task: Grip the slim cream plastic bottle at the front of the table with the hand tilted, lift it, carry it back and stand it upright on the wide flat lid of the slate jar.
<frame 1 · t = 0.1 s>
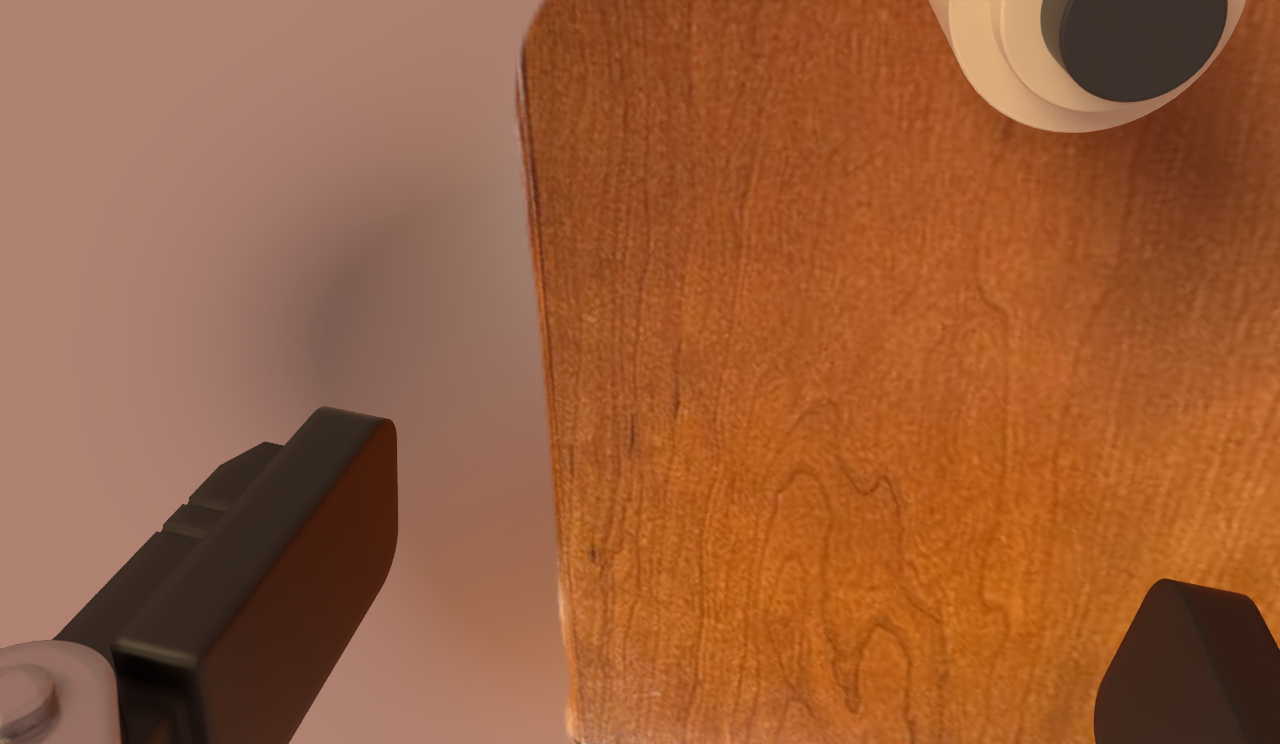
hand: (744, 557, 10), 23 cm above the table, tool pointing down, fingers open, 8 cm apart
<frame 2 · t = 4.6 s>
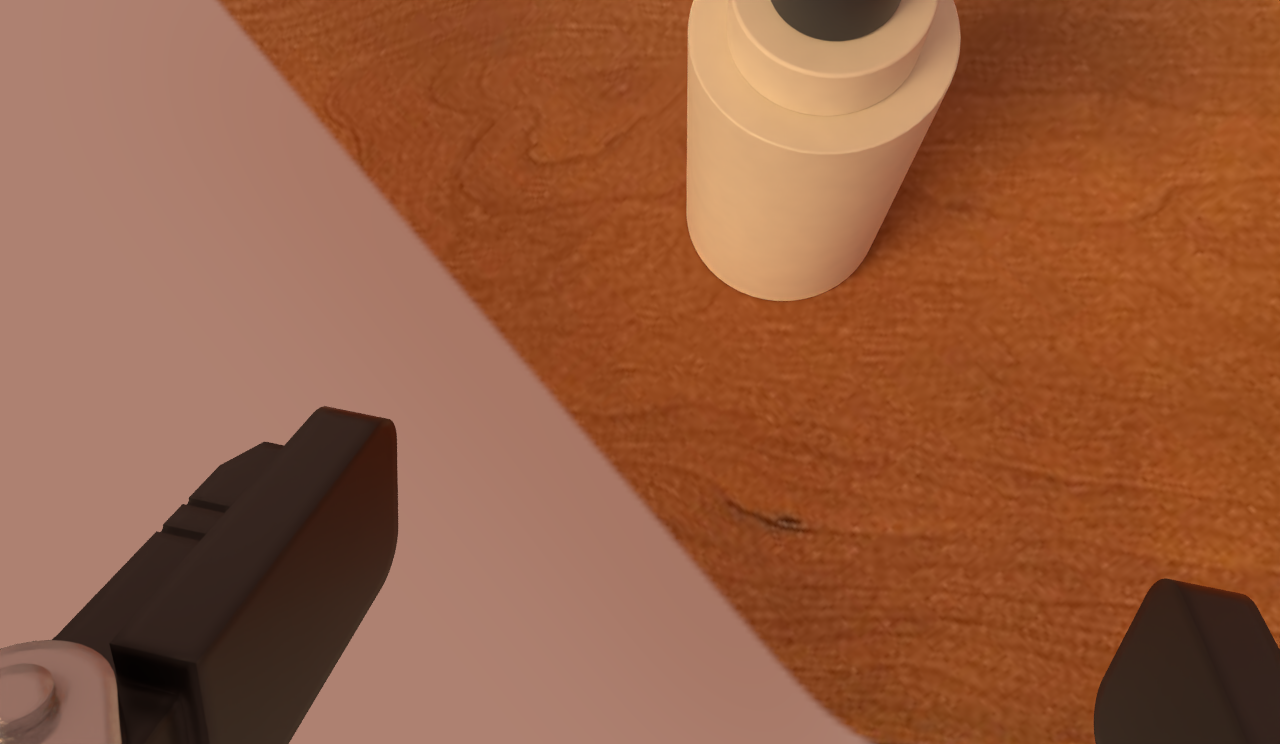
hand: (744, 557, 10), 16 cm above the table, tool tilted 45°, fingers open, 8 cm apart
cream bottle: (781, 211, 29), on the table
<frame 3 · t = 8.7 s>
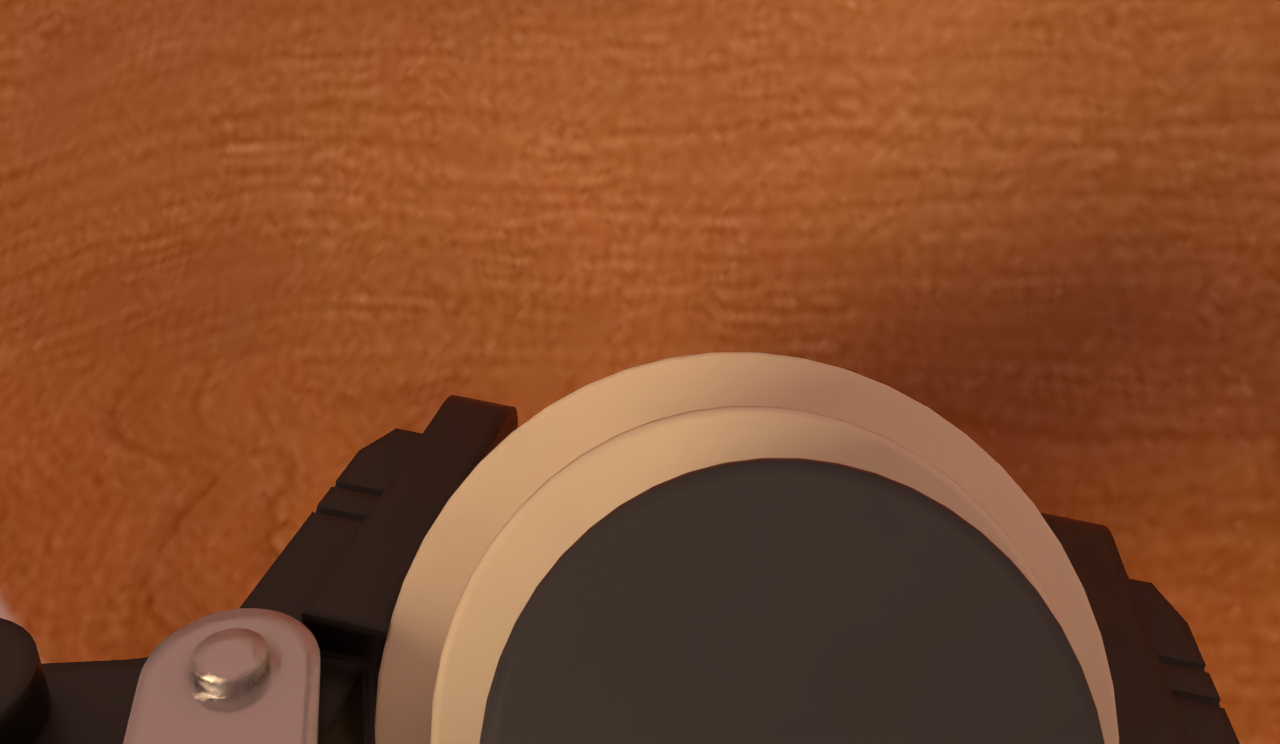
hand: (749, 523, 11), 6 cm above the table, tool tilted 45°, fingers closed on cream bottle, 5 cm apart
cream bottle: (708, 666, 16), on the table, touching gripper
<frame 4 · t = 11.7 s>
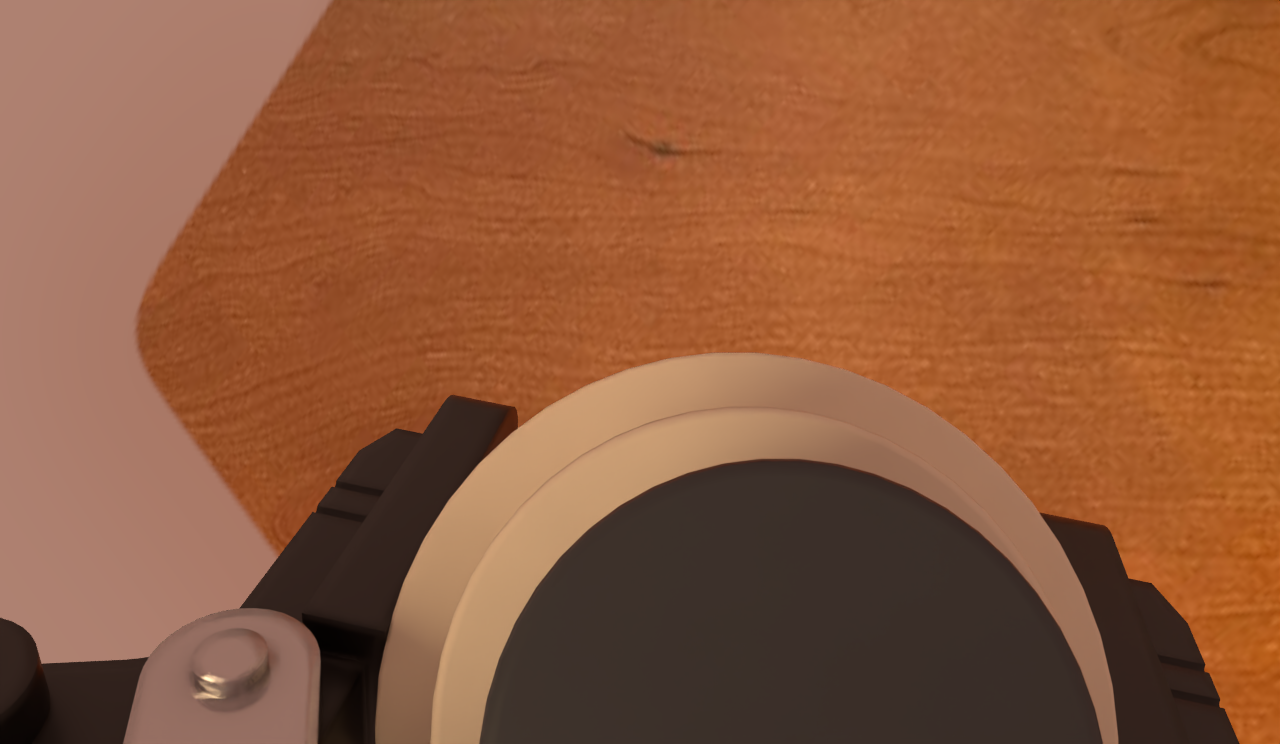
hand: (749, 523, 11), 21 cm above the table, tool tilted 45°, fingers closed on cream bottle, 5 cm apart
cream bottle: (708, 666, 16), point 15 cm above the table, touching gripper
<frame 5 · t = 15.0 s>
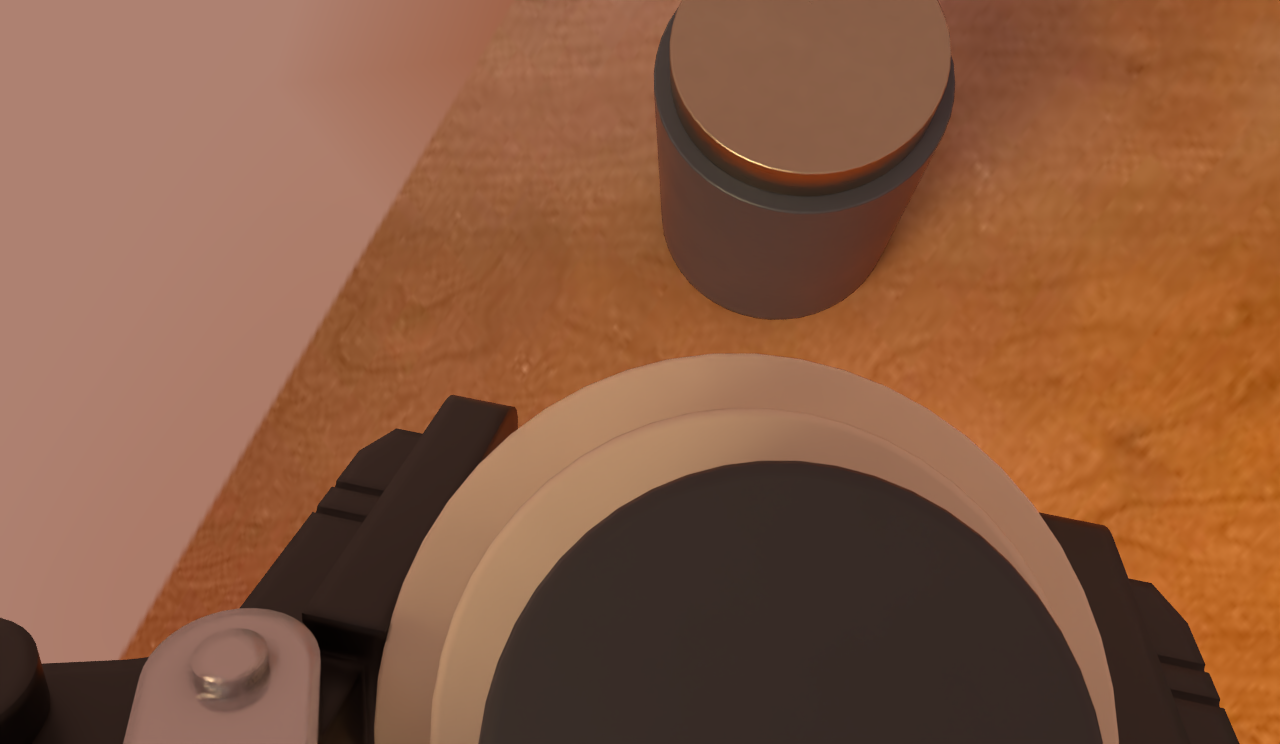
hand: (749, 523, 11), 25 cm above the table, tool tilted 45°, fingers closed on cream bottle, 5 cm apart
cream bottle: (708, 667, 16), point 19 cm above the table, touching gripper
slate jar: (774, 212, 39), on the table
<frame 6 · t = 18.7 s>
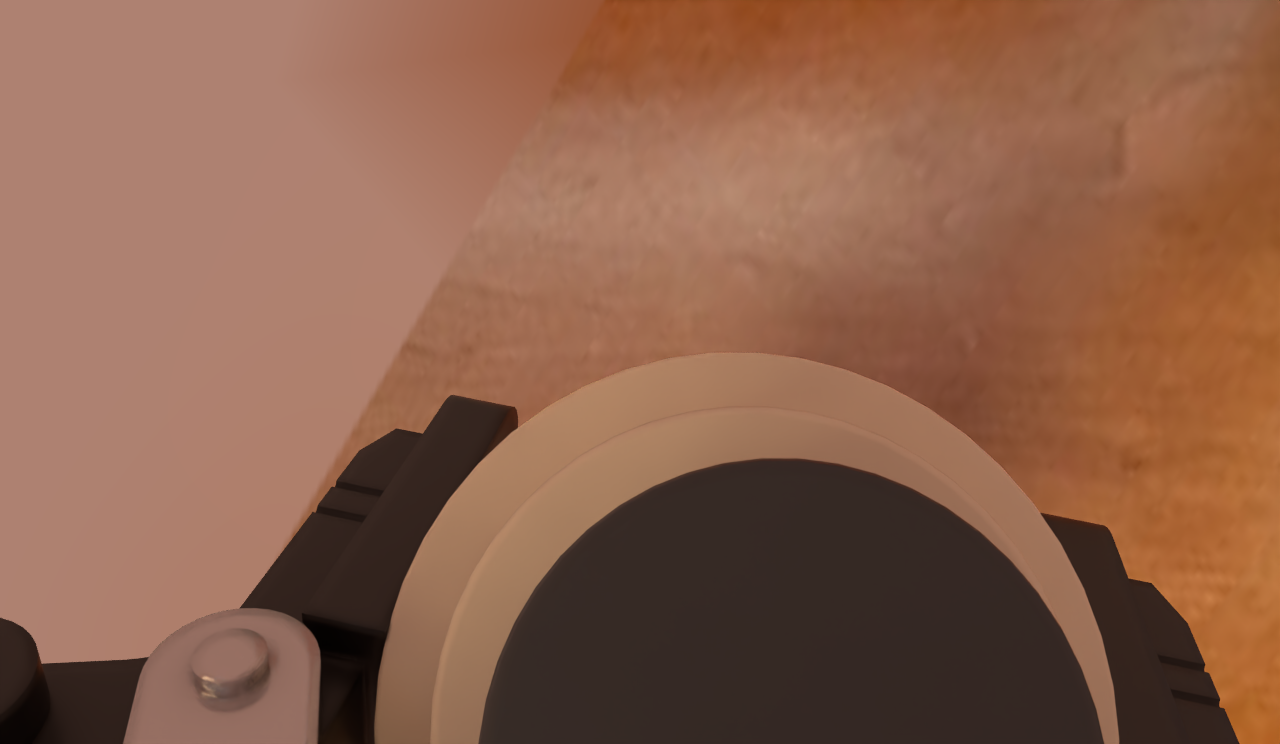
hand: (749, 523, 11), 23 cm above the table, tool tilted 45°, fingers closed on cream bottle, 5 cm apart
cream bottle: (708, 666, 16), point 17 cm above the table, touching gripper
when the fingers open (17 cm above the table, at t = 21.8 s): cream bottle stays where it is, resting on slate jar.
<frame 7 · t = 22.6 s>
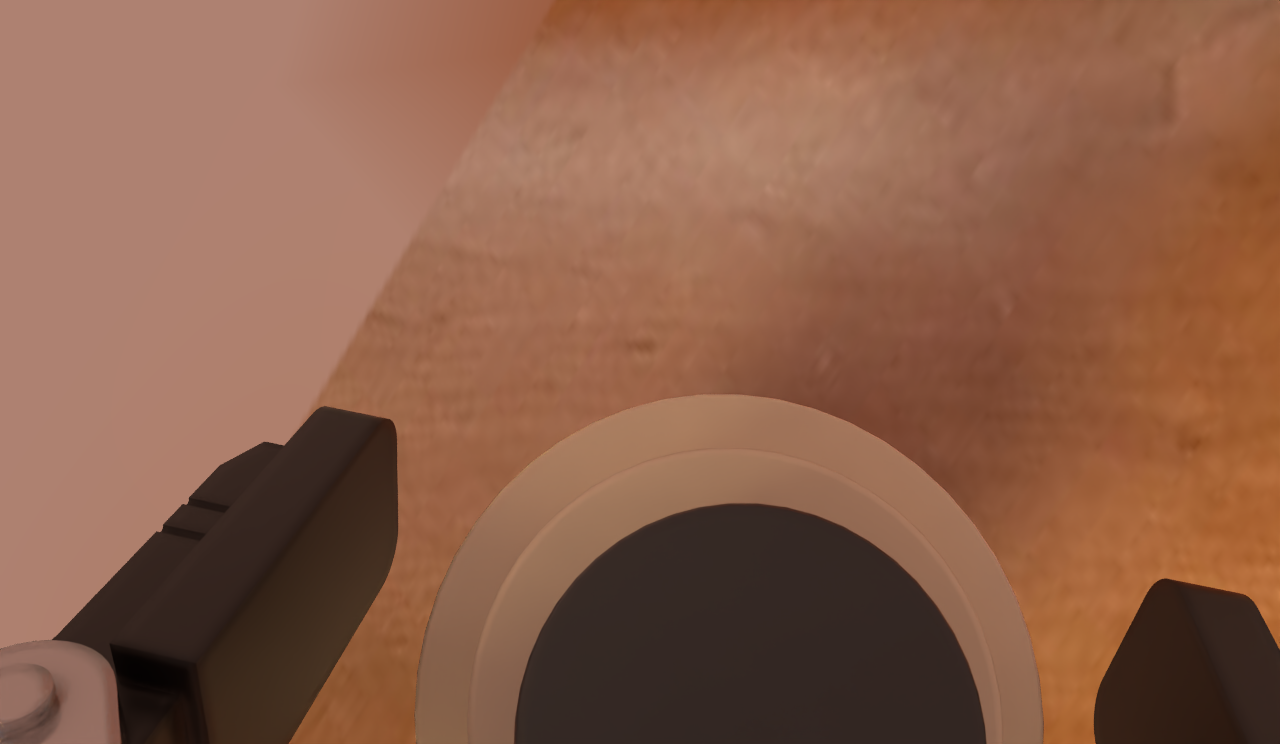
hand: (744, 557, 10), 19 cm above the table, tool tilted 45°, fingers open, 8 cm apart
cream bottle: (705, 664, 17), point 11 cm above the table, touching slate jar
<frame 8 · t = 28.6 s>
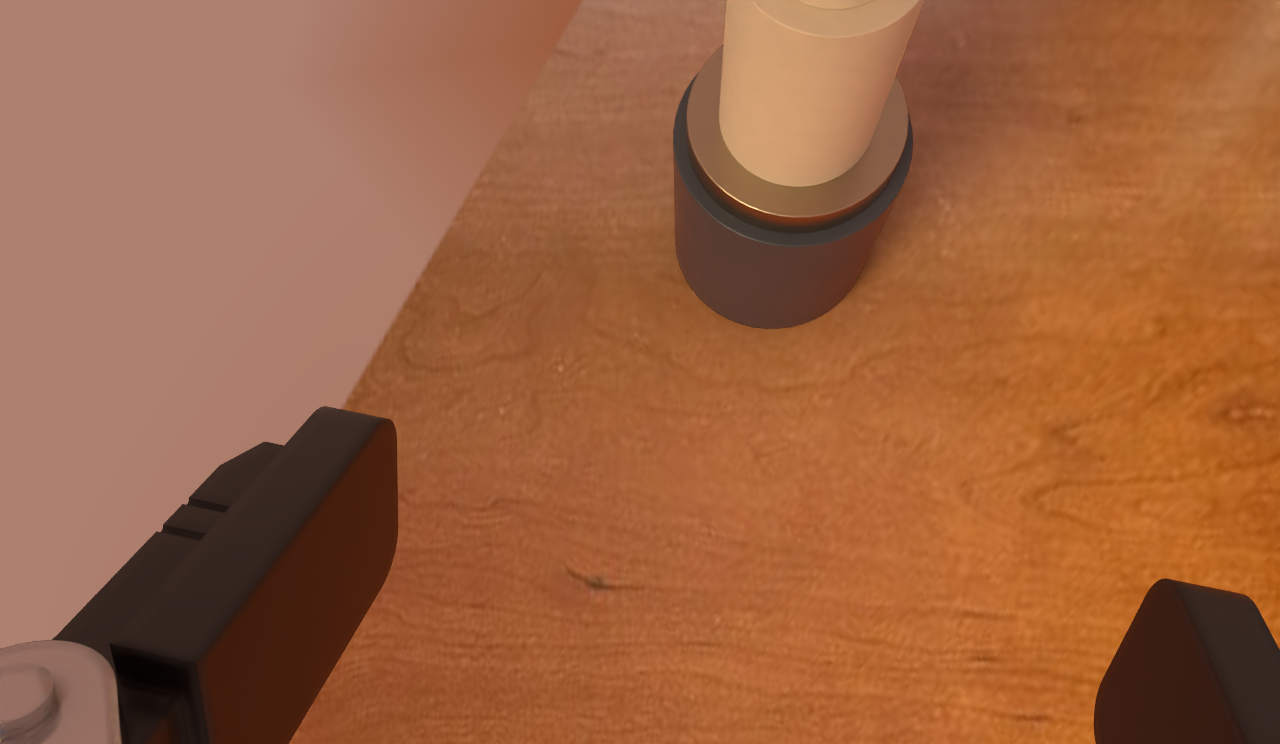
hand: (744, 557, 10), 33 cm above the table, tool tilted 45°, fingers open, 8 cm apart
cream bottle: (796, 116, 35), point 11 cm above the table, touching slate jar
slate jar: (769, 239, 46), on the table
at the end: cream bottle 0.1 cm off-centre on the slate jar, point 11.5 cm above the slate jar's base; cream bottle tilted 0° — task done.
